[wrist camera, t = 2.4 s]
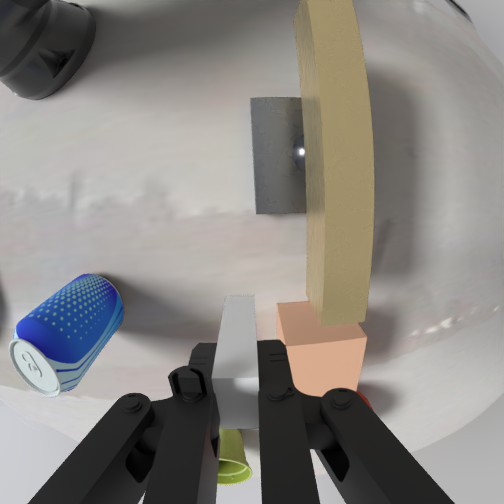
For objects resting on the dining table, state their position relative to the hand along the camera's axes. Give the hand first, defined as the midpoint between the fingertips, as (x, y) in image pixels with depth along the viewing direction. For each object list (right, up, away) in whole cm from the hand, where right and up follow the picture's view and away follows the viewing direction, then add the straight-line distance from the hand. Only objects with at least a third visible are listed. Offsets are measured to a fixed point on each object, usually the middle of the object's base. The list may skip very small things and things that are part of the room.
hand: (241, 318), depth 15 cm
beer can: (-20, -3, +18) cm, 27 cm away
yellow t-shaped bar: (+7, +13, +11) cm, 19 cm away
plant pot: (-4, -27, +26) cm, 37 cm away
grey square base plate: (+7, +14, +14) cm, 21 cm away
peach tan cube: (+8, -6, +20) cm, 22 cm away
